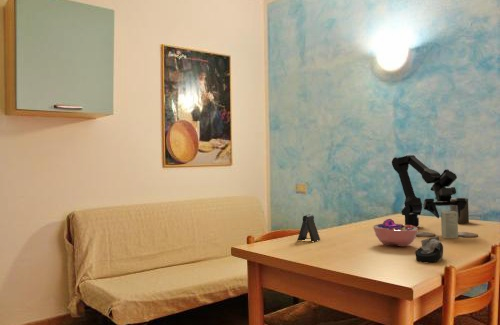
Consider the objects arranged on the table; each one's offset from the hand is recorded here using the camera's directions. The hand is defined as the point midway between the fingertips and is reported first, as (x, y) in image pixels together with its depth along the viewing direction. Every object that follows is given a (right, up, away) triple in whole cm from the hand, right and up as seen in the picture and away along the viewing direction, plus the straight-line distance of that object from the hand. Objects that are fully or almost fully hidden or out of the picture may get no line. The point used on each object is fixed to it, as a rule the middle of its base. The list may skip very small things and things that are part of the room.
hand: (448, 217), depth 202 cm
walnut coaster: (+9, -9, +3) cm, 13 cm away
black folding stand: (-66, -11, +1) cm, 67 cm away
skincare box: (0, -9, -1) cm, 9 cm away
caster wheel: (-26, -11, -42) cm, 50 cm away
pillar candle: (+25, -8, +41) cm, 49 cm away
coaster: (-9, -9, +7) cm, 15 cm away
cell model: (-30, -10, -16) cm, 36 cm away
